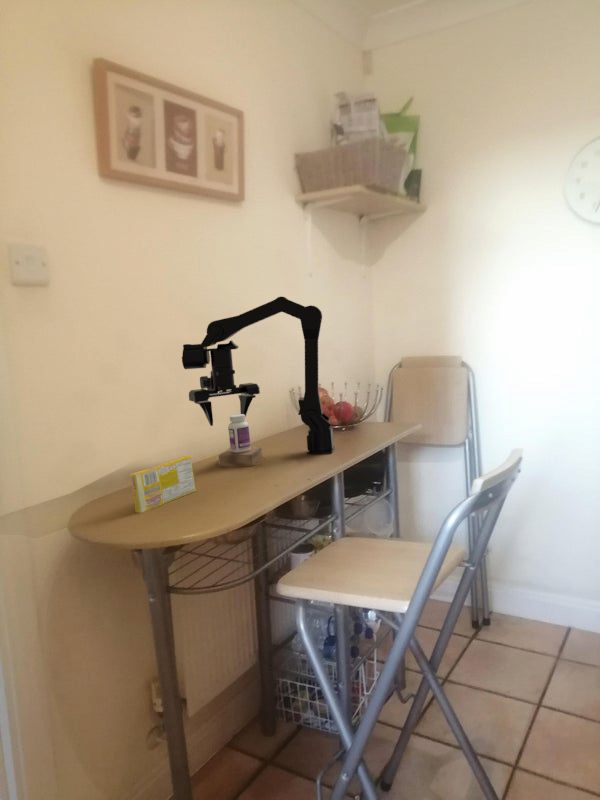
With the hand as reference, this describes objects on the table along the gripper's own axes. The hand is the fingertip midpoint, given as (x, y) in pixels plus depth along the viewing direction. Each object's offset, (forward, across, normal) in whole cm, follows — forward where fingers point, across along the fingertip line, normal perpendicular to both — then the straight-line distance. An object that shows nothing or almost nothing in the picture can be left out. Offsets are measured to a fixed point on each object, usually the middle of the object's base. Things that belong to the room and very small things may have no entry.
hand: (227, 423), depth 169 cm
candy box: (+10, +27, +30) cm, 41 cm away
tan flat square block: (+10, 0, +8) cm, 12 cm away
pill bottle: (+7, 0, +8) cm, 10 cm away
